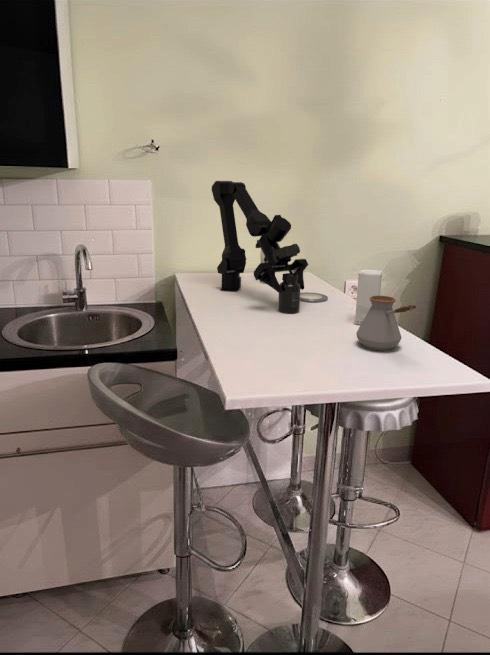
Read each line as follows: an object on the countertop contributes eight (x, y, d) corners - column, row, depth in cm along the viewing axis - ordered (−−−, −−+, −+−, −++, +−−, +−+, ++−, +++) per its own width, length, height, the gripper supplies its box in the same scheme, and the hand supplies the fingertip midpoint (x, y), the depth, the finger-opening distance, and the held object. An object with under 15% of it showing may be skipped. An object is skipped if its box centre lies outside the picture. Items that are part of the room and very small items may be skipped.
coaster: (292, 301, 177) (292, 299, 177) (295, 293, 188) (295, 291, 188) (327, 303, 175) (327, 301, 175) (328, 295, 186) (328, 293, 186)
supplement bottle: (297, 308, 168) (299, 272, 165) (300, 314, 162) (302, 276, 158) (276, 308, 168) (278, 272, 164) (278, 313, 161) (280, 276, 158)
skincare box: (375, 327, 151) (381, 275, 146) (352, 324, 153) (357, 272, 148) (378, 319, 158) (383, 269, 153) (356, 317, 160) (361, 267, 155)
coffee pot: (348, 339, 139) (353, 285, 134) (387, 337, 141) (393, 284, 137) (385, 369, 119) (393, 307, 115) (430, 366, 122) (439, 305, 117)
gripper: (260, 236, 156) (281, 279, 150) (306, 233, 166) (327, 273, 161) (244, 258, 164) (264, 299, 159) (289, 254, 175) (309, 292, 169)
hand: (292, 290), depth 162 cm, fingers open, 9 cm apart
